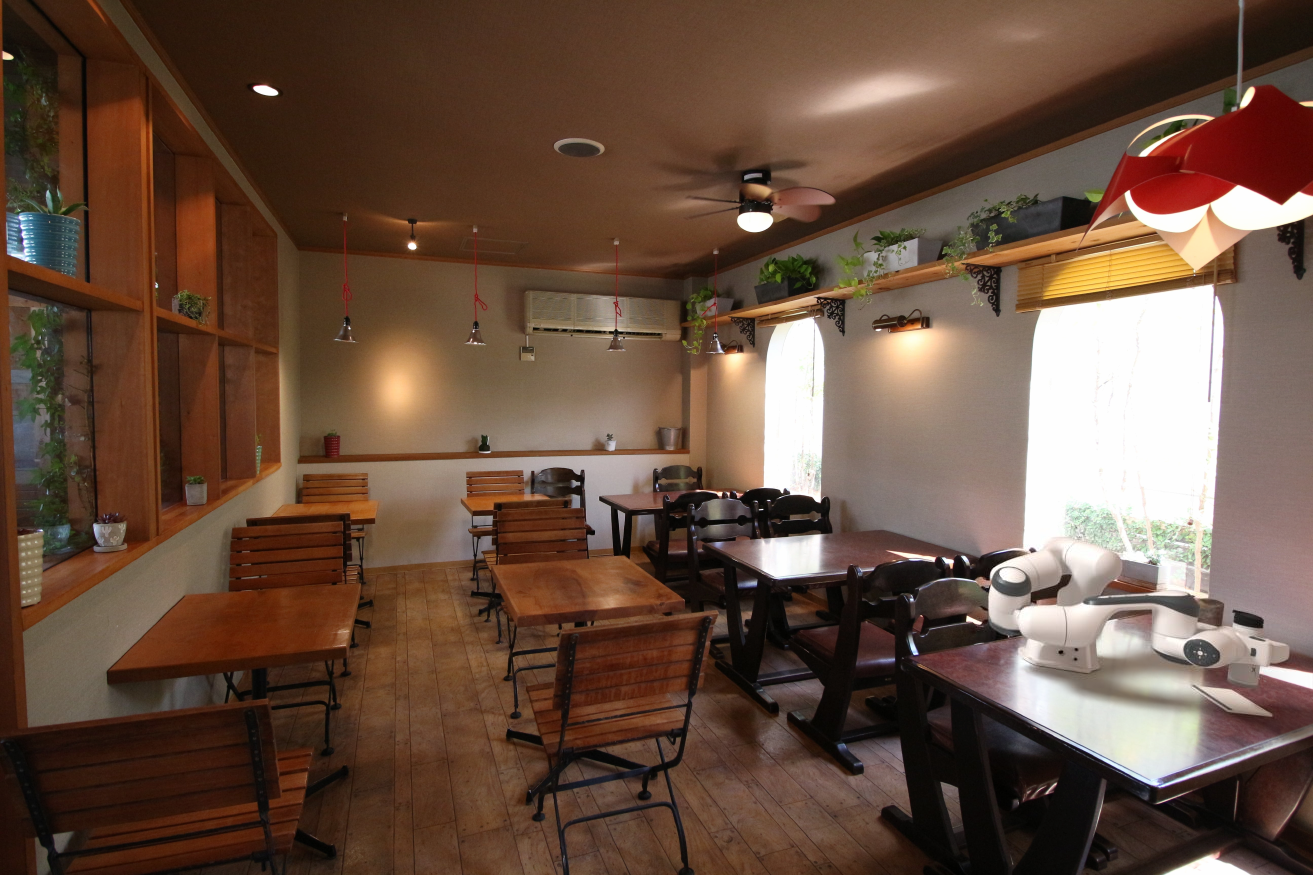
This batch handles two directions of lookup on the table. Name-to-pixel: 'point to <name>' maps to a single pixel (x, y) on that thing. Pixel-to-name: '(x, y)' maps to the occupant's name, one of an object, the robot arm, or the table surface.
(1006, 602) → the robot arm
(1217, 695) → the mat
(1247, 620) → the travel mug
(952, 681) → the table surface
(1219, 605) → the candle
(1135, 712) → the table surface
